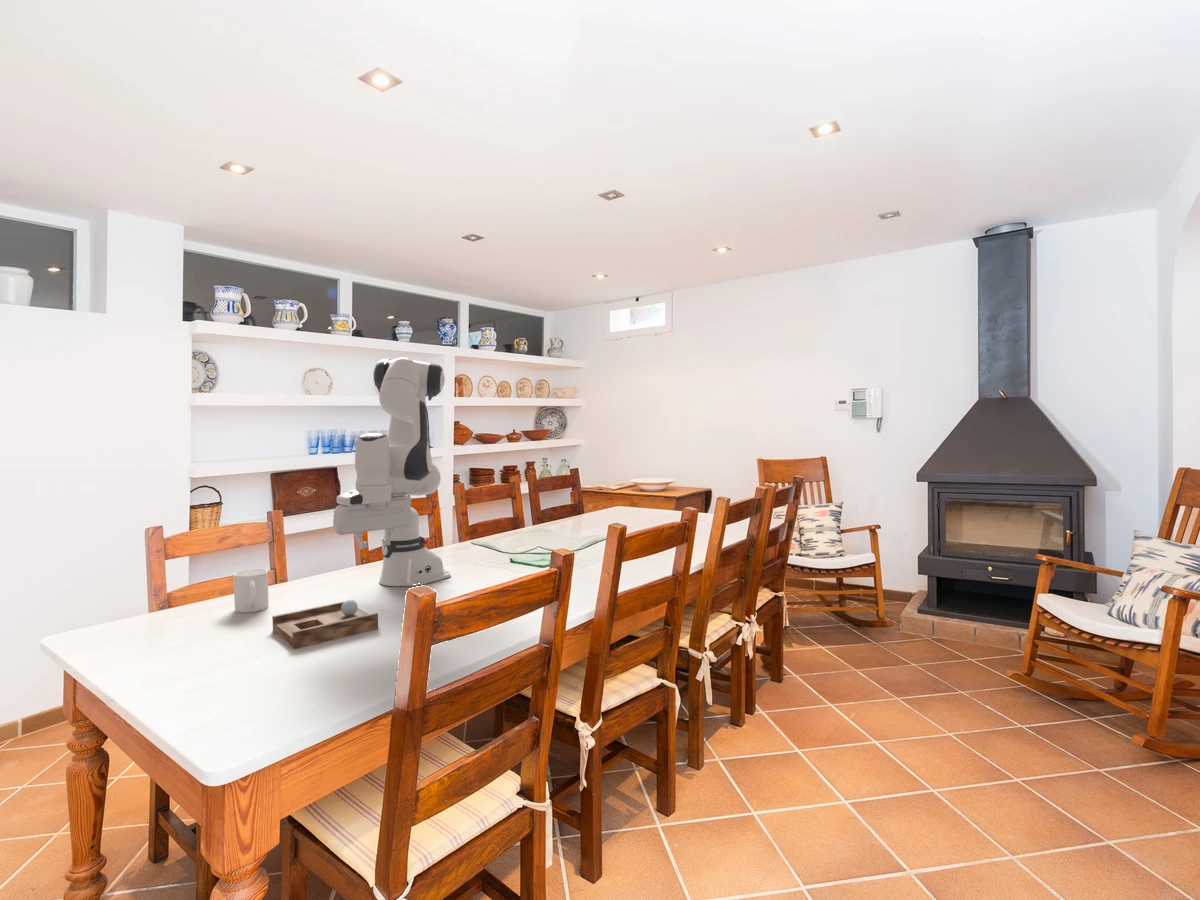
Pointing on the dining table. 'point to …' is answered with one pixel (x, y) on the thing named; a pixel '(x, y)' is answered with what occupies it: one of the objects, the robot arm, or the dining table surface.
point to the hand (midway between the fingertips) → (374, 547)
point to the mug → (251, 590)
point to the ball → (349, 607)
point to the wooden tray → (321, 625)
